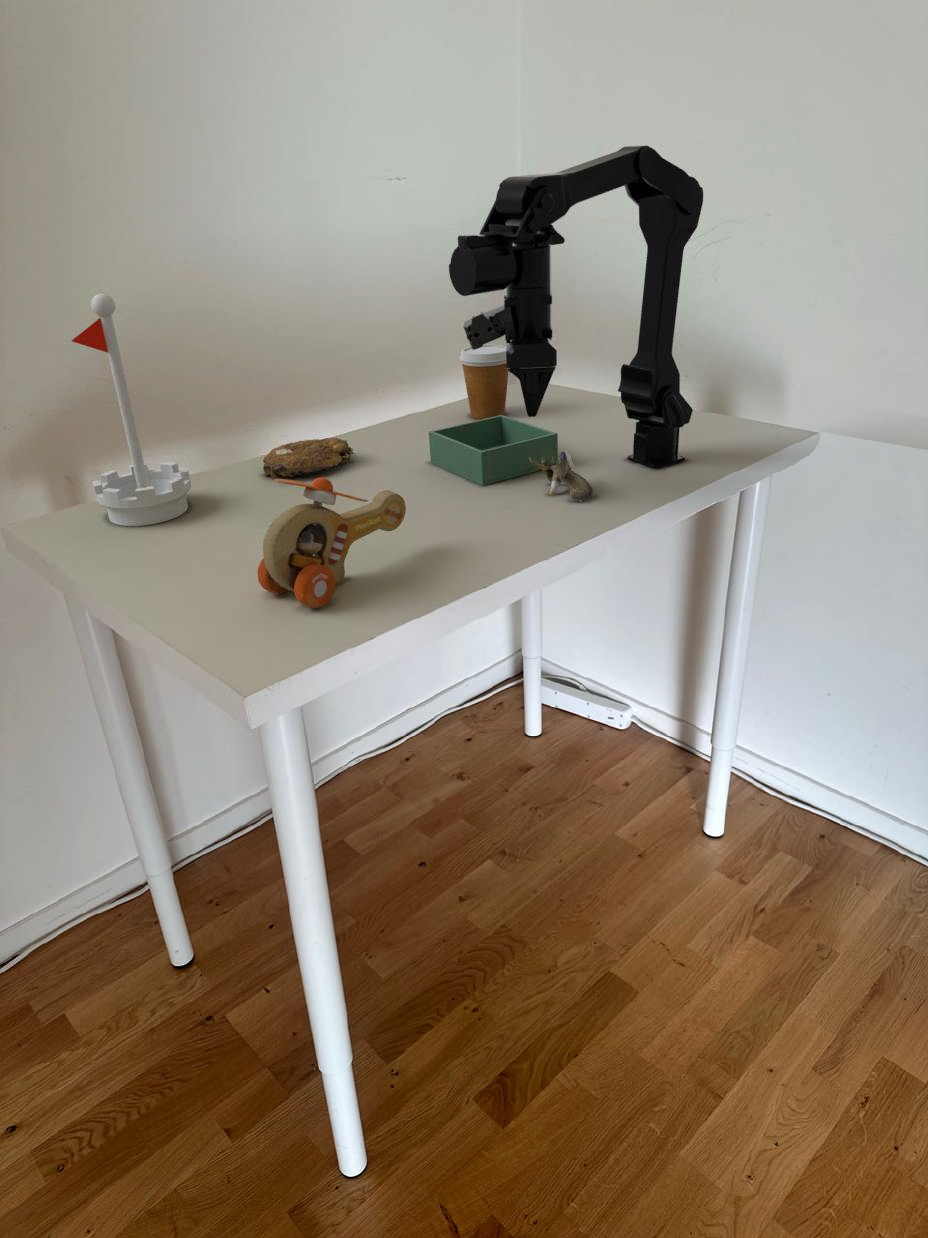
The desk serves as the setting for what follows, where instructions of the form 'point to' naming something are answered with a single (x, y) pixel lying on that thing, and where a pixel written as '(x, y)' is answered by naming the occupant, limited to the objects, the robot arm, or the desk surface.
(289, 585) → the toy helicopter
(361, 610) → the desk surface
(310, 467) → the decorative rock
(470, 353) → the disposable coffee cup
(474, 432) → the bin
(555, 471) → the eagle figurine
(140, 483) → the flag stand
